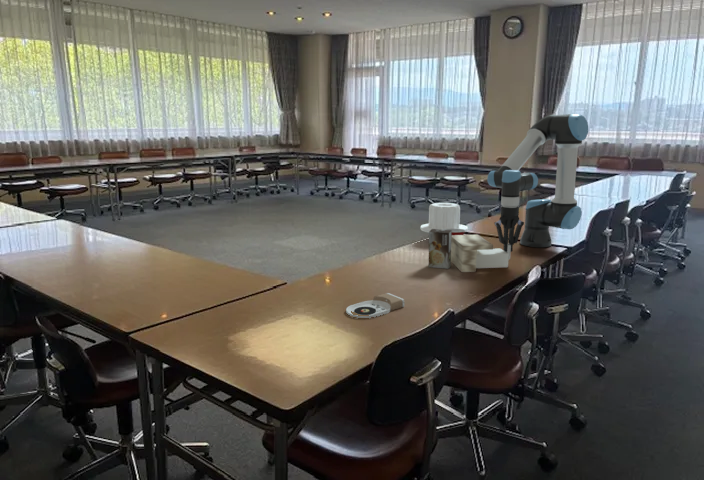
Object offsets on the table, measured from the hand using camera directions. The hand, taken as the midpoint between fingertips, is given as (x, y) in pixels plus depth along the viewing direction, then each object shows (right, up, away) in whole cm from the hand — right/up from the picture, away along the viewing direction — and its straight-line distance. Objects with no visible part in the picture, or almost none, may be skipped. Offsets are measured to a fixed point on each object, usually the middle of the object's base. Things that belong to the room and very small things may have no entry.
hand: (507, 258), depth 224 cm
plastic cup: (-20, +2, +20) cm, 28 cm away
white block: (-10, -3, 0) cm, 10 cm away
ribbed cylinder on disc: (-20, +8, +49) cm, 54 cm away
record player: (-62, -16, -52) cm, 82 cm away
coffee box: (-30, -4, -2) cm, 31 cm away
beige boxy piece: (-18, -3, -1) cm, 18 cm away
